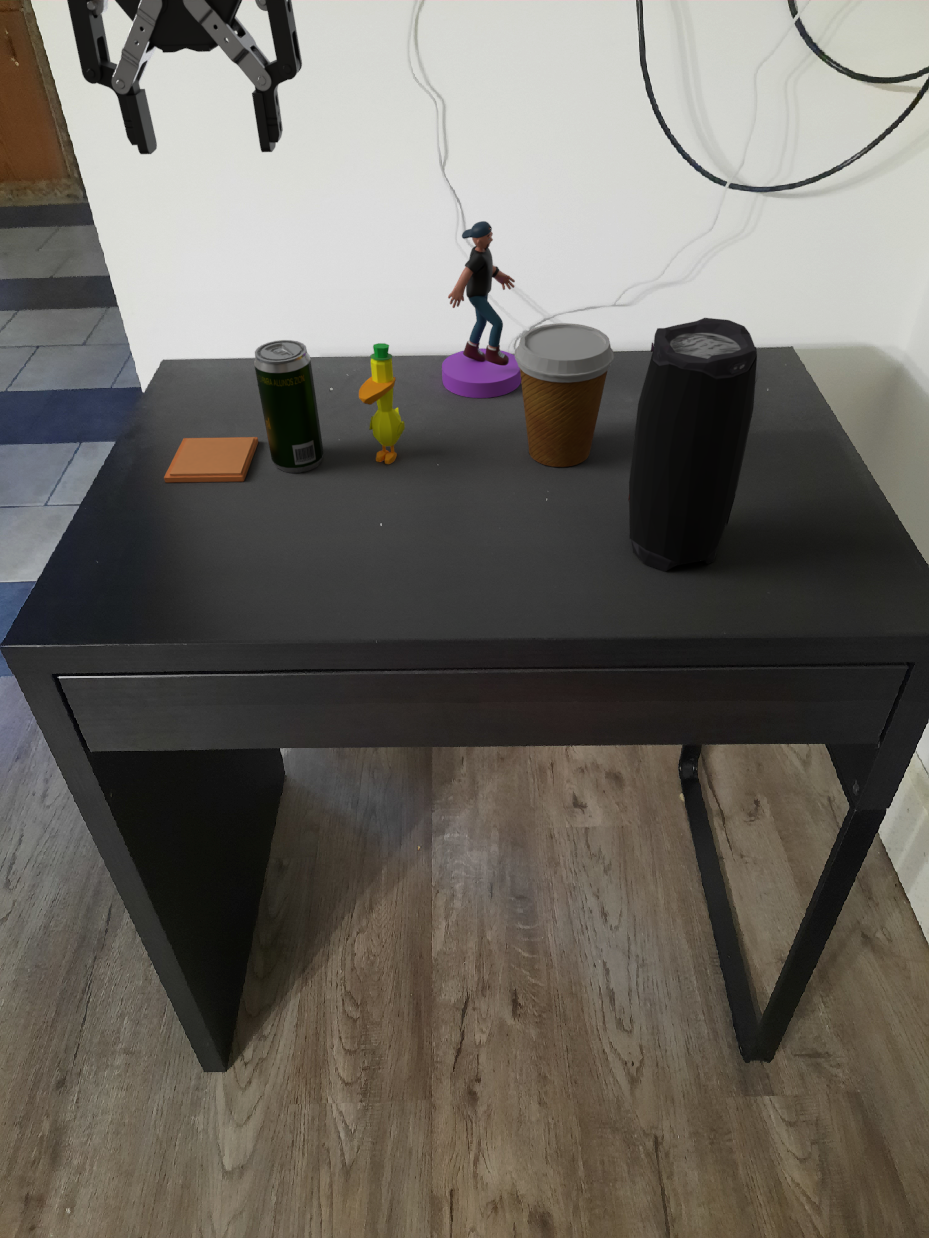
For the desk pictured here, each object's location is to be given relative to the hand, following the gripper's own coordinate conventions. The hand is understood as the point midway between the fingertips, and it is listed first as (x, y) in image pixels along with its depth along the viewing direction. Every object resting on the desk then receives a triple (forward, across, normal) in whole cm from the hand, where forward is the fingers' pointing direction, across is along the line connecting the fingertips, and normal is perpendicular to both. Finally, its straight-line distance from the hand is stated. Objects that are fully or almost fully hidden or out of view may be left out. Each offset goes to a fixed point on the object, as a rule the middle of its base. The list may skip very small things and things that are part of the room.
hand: (209, 151), depth 64 cm
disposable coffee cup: (+32, +27, +13) cm, 44 cm away
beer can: (+32, 0, +12) cm, 34 cm away
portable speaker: (+32, +36, -4) cm, 49 cm away
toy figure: (+32, +9, +12) cm, 36 cm away
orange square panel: (+32, -9, +12) cm, 35 cm away
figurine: (+32, +19, +30) cm, 48 cm away
